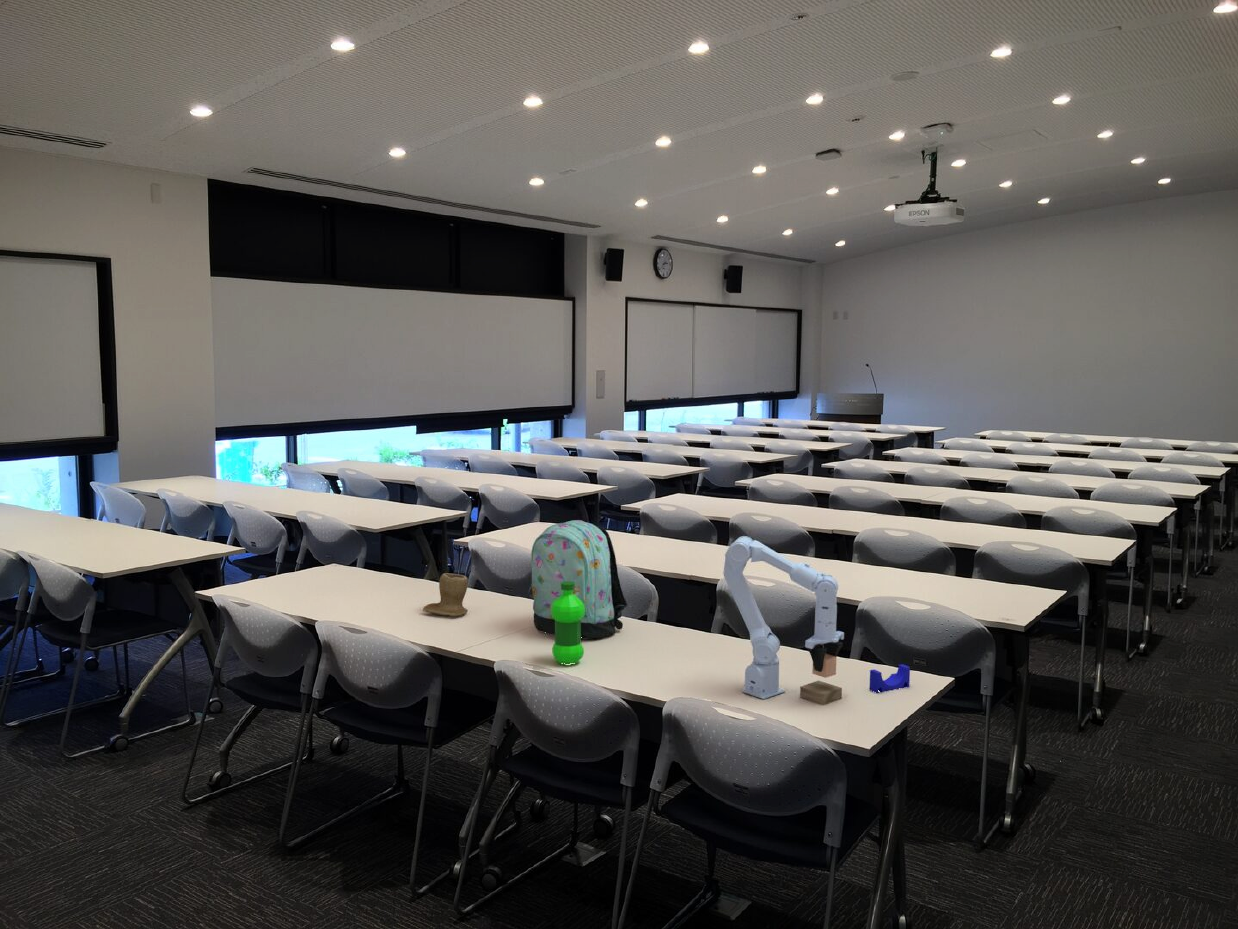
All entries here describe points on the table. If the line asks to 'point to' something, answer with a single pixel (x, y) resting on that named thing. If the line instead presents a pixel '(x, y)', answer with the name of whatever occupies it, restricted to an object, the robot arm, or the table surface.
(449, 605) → the brown boot
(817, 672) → the light tan block
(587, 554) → the backpack
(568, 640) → the plastic bottle
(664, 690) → the table surface
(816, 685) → the olive block
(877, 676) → the blue cradle block
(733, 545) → the robot arm
